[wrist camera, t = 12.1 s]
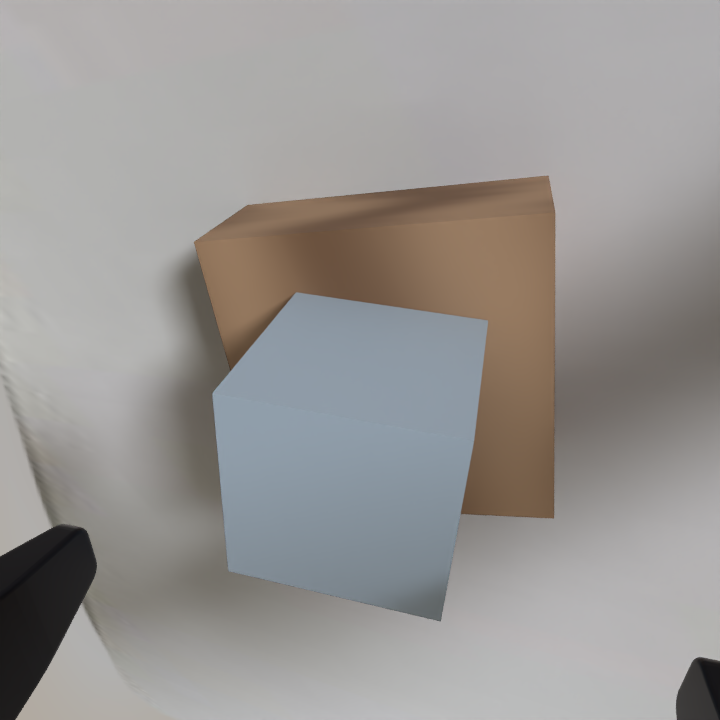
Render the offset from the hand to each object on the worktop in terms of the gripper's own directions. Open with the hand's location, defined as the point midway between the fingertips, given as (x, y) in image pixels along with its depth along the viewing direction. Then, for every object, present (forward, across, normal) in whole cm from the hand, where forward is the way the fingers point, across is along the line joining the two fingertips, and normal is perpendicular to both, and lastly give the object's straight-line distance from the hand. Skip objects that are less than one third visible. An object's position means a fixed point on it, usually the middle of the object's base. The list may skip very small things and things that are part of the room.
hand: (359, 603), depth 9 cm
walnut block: (+12, +1, +2) cm, 12 cm away
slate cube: (+8, +1, +2) cm, 8 cm away
